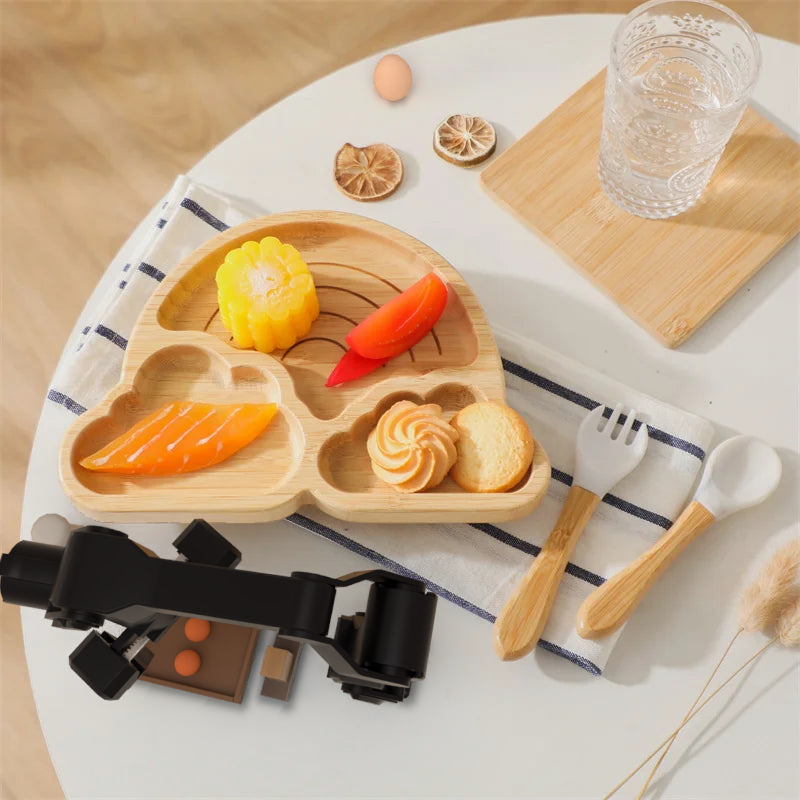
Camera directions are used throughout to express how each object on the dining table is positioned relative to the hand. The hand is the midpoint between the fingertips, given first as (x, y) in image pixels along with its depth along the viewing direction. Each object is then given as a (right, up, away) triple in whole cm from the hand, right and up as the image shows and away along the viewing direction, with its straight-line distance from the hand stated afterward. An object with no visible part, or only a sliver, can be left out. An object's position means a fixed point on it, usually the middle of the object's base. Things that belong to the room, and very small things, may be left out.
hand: (180, 618), depth 98 cm
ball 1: (-1, -4, +11) cm, 11 cm away
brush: (+10, -8, +11) cm, 17 cm away
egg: (+23, +70, +41) cm, 84 cm away
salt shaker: (-16, +4, +17) cm, 23 cm away
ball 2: (-1, -7, +9) cm, 12 cm away
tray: (-1, -6, +12) cm, 14 cm away
